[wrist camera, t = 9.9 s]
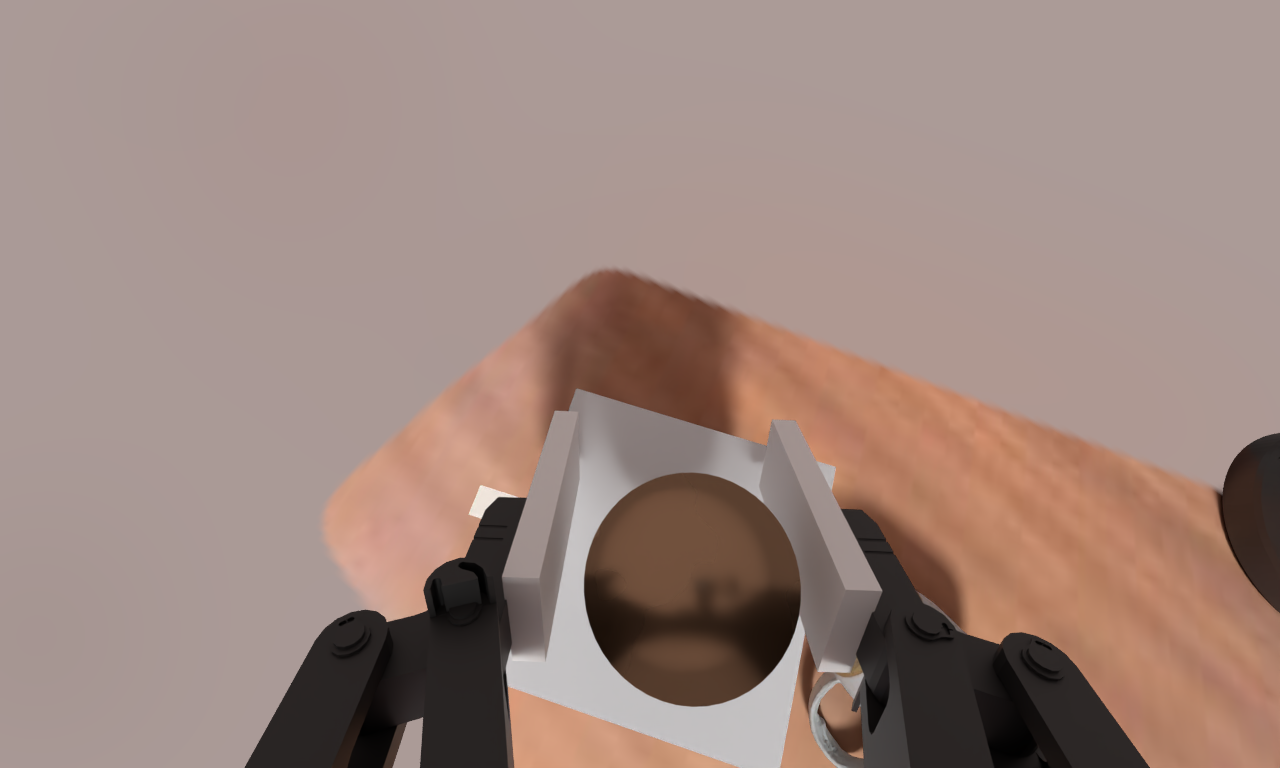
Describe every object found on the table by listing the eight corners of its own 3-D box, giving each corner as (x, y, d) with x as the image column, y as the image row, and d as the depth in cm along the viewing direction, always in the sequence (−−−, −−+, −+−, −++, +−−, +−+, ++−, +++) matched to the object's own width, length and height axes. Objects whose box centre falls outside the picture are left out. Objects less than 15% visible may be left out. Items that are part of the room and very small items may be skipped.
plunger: (720, 510, 32) (904, 458, 11) (690, 633, 30) (844, 873, 9) (610, 476, 33) (576, 360, 11) (572, 593, 31) (441, 728, 9)
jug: (738, 499, 34) (835, 466, 18) (701, 655, 31) (777, 780, 15) (562, 444, 35) (507, 367, 19) (509, 591, 32) (391, 645, 16)
